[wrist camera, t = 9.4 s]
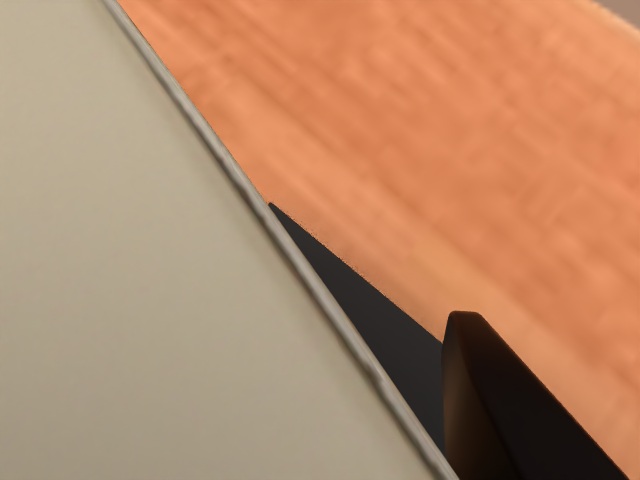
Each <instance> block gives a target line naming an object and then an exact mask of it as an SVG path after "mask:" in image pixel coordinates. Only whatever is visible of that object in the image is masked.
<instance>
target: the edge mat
mask: <svg viewBox="0 0 640 480" xmlns="http://www.w3.org/2000/svg"><path fill="white" fill-rule="evenodd" d="M268 206H269V207H270V209H271V210H272V212H273V213H274V214H275V216H276V217H277V219H278V220H279V221H280V223H281V224H282V226H283V227H284V228H285V230H286V231H287V233H288V234H289V235H290V237H291V238H292V240H293V241H294V242H295V244H296V245H297V247H298V248H299V249H300V251H301V252H302V254H303V255H304V256H305V258H306V259H307V261H308V262H309V263H310V265H311V266H312V268H313V269H314V270H315V272H316V273H317V275H318V276H319V277H320V279H321V280H322V282H323V283H324V284H325V286H326V287H327V289H328V290H329V291H330V293H331V294H332V296H333V297H334V298H335V300H336V301H337V302H338V304H339V305H340V307H341V308H342V309H343V311H344V312H345V314H346V315H347V316H348V318H349V319H350V321H351V322H352V323H353V325H354V326H355V328H356V329H357V331H358V332H359V334H360V335H361V337H362V338H363V340H364V341H365V343H366V344H367V345H368V347H369V348H370V350H371V351H372V353H373V354H374V356H375V357H376V359H377V360H378V362H379V363H380V365H381V366H382V367H383V369H384V370H385V372H386V373H387V375H388V376H389V378H390V379H391V381H392V382H393V384H394V385H395V387H396V388H397V389H398V391H399V392H400V394H401V395H402V397H403V398H404V400H405V401H406V403H407V404H408V406H409V407H410V409H411V410H412V411H413V413H414V414H415V416H416V417H417V419H418V420H419V422H420V423H421V425H422V426H423V427H424V429H425V430H426V432H427V433H428V435H429V436H430V438H431V439H432V440H433V442H434V443H435V445H436V446H437V448H438V449H439V450H440V452H441V453H442V455H443V456H444V458H445V459H446V451H445V436H444V417H443V397H442V377H441V351H442V345H443V344H442V343H441V342H440V341H439V340H437V339H436V338H435V337H434V336H433V335H431V334H430V333H429V332H428V331H426V330H425V329H424V328H423V327H422V326H420V325H419V324H418V323H417V322H416V321H414V320H413V319H412V318H411V317H409V316H408V315H407V314H406V313H405V312H403V311H402V310H401V309H400V308H399V307H397V306H396V305H395V304H394V303H393V302H391V301H390V300H389V299H388V298H386V297H385V296H384V295H383V294H382V293H380V292H379V291H378V290H377V289H376V288H374V287H373V286H372V285H371V284H369V283H368V282H367V281H366V280H365V279H363V278H362V277H361V276H360V275H359V274H357V273H356V272H355V271H354V270H353V269H351V268H350V267H349V266H348V265H346V264H345V263H344V262H343V261H342V260H340V259H339V258H338V257H337V256H336V255H334V254H333V253H332V252H331V251H329V250H328V249H327V248H326V247H325V246H323V245H322V244H321V243H320V242H319V241H317V240H316V239H315V238H314V237H312V236H311V235H310V234H309V233H308V232H306V231H305V230H304V229H303V228H302V227H300V226H299V225H298V224H297V223H296V222H294V221H293V220H292V219H291V218H289V217H288V216H287V215H286V214H285V213H283V212H282V211H281V210H280V209H279V208H277V207H276V206H275V205H274V204H272V203H271V202H270V203H269V204H268Z"/></svg>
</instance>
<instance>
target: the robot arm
mask: <svg viewBox="0 0 640 480" xmlns="http://www.w3.org/2000/svg"><path fill="white" fill-rule="evenodd" d="M441 377H442V397H443V417H444V436H445V451H446V461H447V462H448V463H449V465H450V466H451V468H452V469H453V471H454V472H455V474H456V475H457V477H458V478H459V479H460V480H630V479H629V478H628V477H627V476H626V475H625V474H624V473H623V472H622V470H621V469H620V468H619V467H618V466H617V465H616V464H615V463H614V462H613V460H612V459H611V458H610V457H609V456H608V455H607V454H606V453H605V452H604V451H603V449H602V448H601V447H600V446H599V445H598V444H597V443H596V442H595V441H594V439H593V438H592V437H591V436H590V435H589V434H588V433H587V432H586V431H585V430H584V428H583V427H582V426H581V425H580V424H579V423H578V422H577V421H576V420H575V418H574V417H573V416H572V415H571V414H570V413H569V412H568V411H567V410H566V409H565V407H564V406H563V405H562V404H561V403H560V402H559V401H558V400H557V399H556V397H555V396H554V395H553V394H552V393H551V392H550V391H549V390H548V389H547V387H546V386H545V385H544V384H543V383H542V382H541V381H540V380H539V379H538V378H537V376H536V375H535V374H534V373H533V372H532V371H531V370H530V369H529V368H528V366H527V365H526V364H525V363H524V362H523V361H522V360H521V359H520V358H519V357H518V355H517V354H516V353H515V352H514V351H513V350H512V349H511V348H510V347H509V345H508V344H507V343H506V342H505V341H504V340H503V339H502V338H501V337H500V336H499V334H498V333H497V332H496V331H495V330H494V329H493V328H492V327H491V326H490V324H489V323H488V322H487V321H486V320H485V319H484V318H483V317H482V316H481V315H480V314H479V313H476V312H468V311H452V312H451V313H450V314H449V317H448V321H447V326H446V331H445V336H444V340H443V345H442V351H441Z"/></svg>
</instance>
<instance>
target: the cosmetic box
mask: <svg viewBox="0 0 640 480" xmlns="http://www.w3.org/2000/svg"><path fill="white" fill-rule="evenodd" d="M0 480H460V479H459V478H458V477H457V475H456V474H455V472H454V471H453V469H452V468H451V466H450V465H449V463H448V462H447V461H446V459H445V458H444V456H443V455H442V453H441V452H440V450H439V449H438V448H437V446H436V445H435V443H434V442H433V440H432V439H431V438H430V436H429V435H428V433H427V432H426V430H425V429H424V427H423V426H422V425H421V423H420V422H419V420H418V419H417V417H416V416H415V414H414V413H413V411H412V410H411V409H410V407H409V406H408V404H407V403H406V401H405V400H404V398H403V397H402V395H401V394H400V392H399V391H398V389H397V388H396V387H395V385H394V384H393V382H392V381H391V379H390V378H389V376H388V375H387V373H386V372H385V370H384V369H383V367H382V366H381V365H380V363H379V362H378V360H377V359H376V357H375V356H374V354H373V353H372V351H371V350H370V348H369V347H368V345H367V344H366V343H365V341H364V340H363V338H362V337H361V335H360V334H359V332H358V331H357V329H356V328H355V326H354V325H353V323H352V322H351V321H350V319H349V318H348V316H347V315H346V314H345V312H344V311H343V309H342V308H341V307H340V305H339V304H338V302H337V301H336V300H335V298H334V297H333V296H332V294H331V293H330V291H329V290H328V289H327V287H326V286H325V284H324V283H323V282H322V280H321V279H320V277H319V276H318V275H317V273H316V272H315V270H314V269H313V268H312V266H311V265H310V263H309V262H308V261H307V259H306V258H305V256H304V255H303V254H302V252H301V251H300V249H299V248H298V247H297V245H296V244H295V242H294V241H293V240H292V238H291V237H290V235H289V234H288V233H287V231H286V230H285V228H284V227H283V226H282V224H281V223H280V221H279V220H278V219H277V217H276V216H275V214H274V213H273V212H272V210H271V209H270V207H269V206H268V205H267V203H266V202H265V200H264V199H263V198H262V196H261V195H260V193H259V192H258V191H257V189H256V188H255V187H254V185H253V184H252V182H251V181H250V180H249V178H248V177H247V175H246V174H245V173H244V171H243V170H242V169H241V167H240V166H239V164H238V163H237V162H236V160H235V159H234V158H233V156H232V155H231V153H230V152H229V151H228V149H227V148H226V146H225V145H224V144H223V142H222V141H221V140H220V138H219V137H218V136H217V134H216V133H215V132H214V130H213V129H212V128H211V126H210V125H209V124H208V122H207V121H206V120H205V118H204V117H203V116H202V114H201V113H200V112H199V110H198V109H197V108H196V106H195V105H194V104H193V102H192V101H191V100H190V98H189V97H188V96H187V94H186V93H185V92H184V90H183V89H182V87H181V86H180V85H179V83H178V82H177V81H176V79H175V78H174V77H173V75H172V74H171V73H170V71H169V70H168V68H167V67H166V66H165V64H164V63H163V62H162V60H161V59H160V58H159V56H158V55H157V54H156V52H155V51H154V50H153V48H152V47H151V46H150V44H149V43H148V42H147V40H146V39H145V38H144V36H143V35H142V34H141V32H140V31H139V30H138V28H137V27H136V26H135V24H134V23H133V22H132V20H131V19H130V18H129V16H128V15H127V14H126V12H125V11H124V10H123V8H122V7H121V6H120V4H119V3H118V2H117V1H116V0H0Z"/></svg>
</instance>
